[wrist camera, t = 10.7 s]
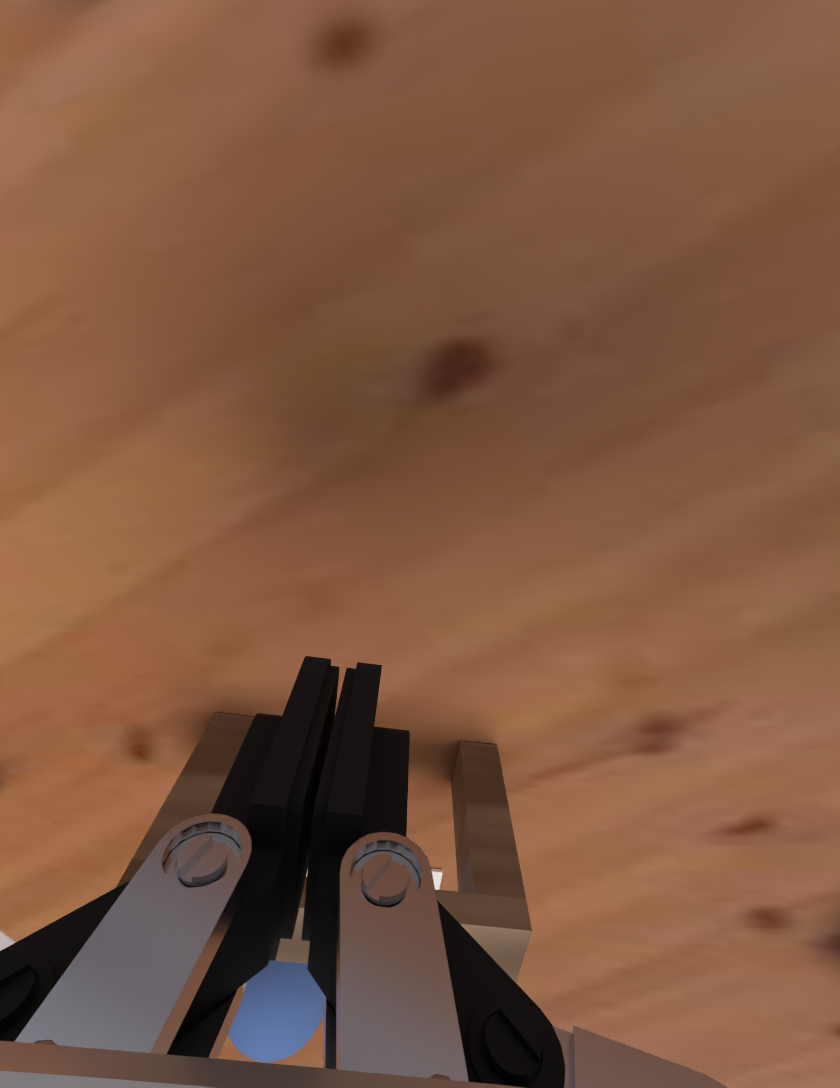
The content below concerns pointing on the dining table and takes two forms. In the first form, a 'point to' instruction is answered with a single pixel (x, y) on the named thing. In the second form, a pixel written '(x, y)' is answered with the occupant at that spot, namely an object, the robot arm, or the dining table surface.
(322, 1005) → the ball
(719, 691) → the dining table surface
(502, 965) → the bridge
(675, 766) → the dining table surface
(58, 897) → the dining table surface
